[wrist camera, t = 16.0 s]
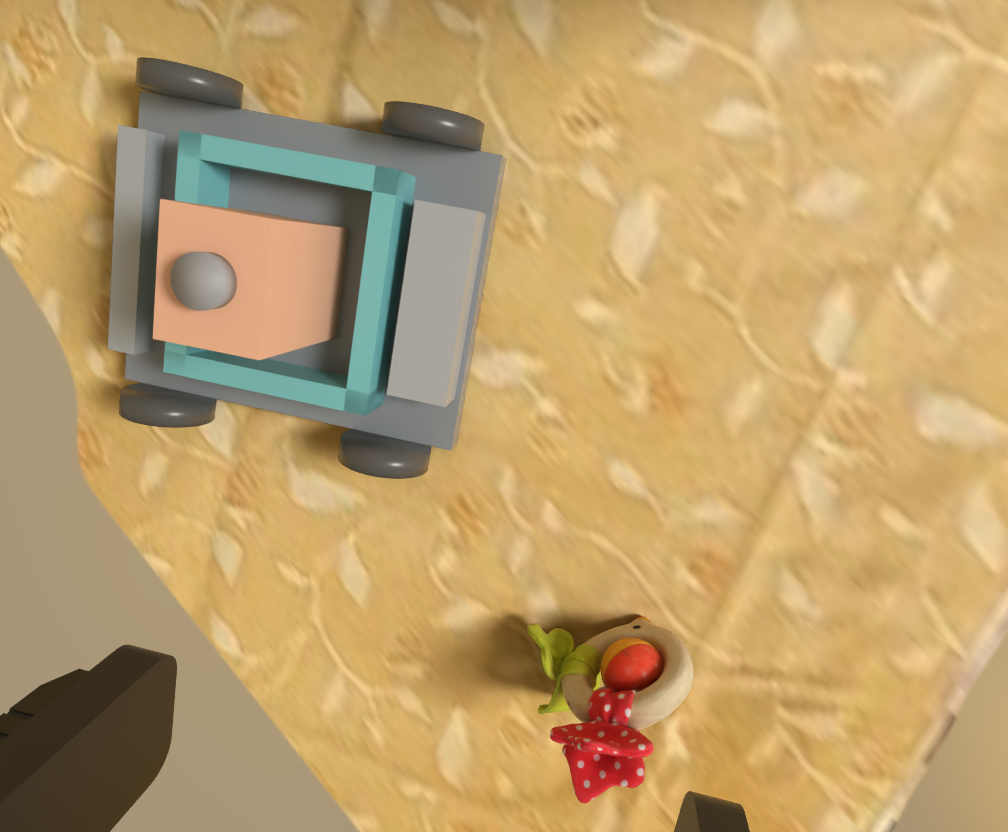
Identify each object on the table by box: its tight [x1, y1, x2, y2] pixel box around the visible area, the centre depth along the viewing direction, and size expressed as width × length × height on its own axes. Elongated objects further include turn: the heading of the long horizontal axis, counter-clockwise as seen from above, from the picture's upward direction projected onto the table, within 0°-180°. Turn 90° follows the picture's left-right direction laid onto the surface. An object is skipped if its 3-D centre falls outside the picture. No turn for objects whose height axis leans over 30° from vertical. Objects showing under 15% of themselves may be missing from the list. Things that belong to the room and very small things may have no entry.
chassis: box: [108, 57, 506, 479], centre depth 38 cm, size 18×20×5 cm
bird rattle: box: [527, 616, 694, 804], centre depth 38 cm, size 6×11×9 cm
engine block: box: [153, 199, 349, 360], centre depth 34 cm, size 6×5×10 cm
